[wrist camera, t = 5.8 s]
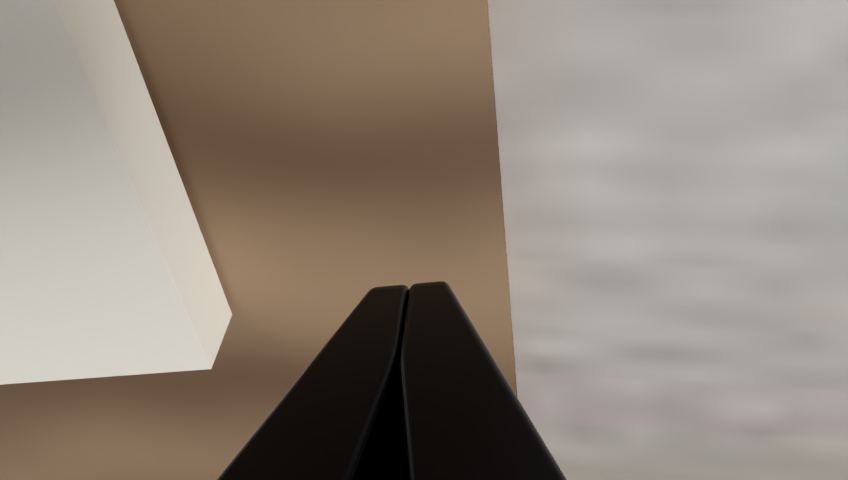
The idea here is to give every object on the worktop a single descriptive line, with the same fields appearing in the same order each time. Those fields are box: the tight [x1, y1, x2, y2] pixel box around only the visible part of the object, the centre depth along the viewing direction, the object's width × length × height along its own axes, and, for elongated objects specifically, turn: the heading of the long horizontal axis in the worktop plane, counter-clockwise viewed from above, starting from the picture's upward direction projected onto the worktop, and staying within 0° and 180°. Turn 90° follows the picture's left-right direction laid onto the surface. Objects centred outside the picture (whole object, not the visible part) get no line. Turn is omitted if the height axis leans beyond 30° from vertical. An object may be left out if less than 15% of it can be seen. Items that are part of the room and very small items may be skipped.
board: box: [0, 0, 517, 480], centre depth 14 cm, size 20×18×2 cm
